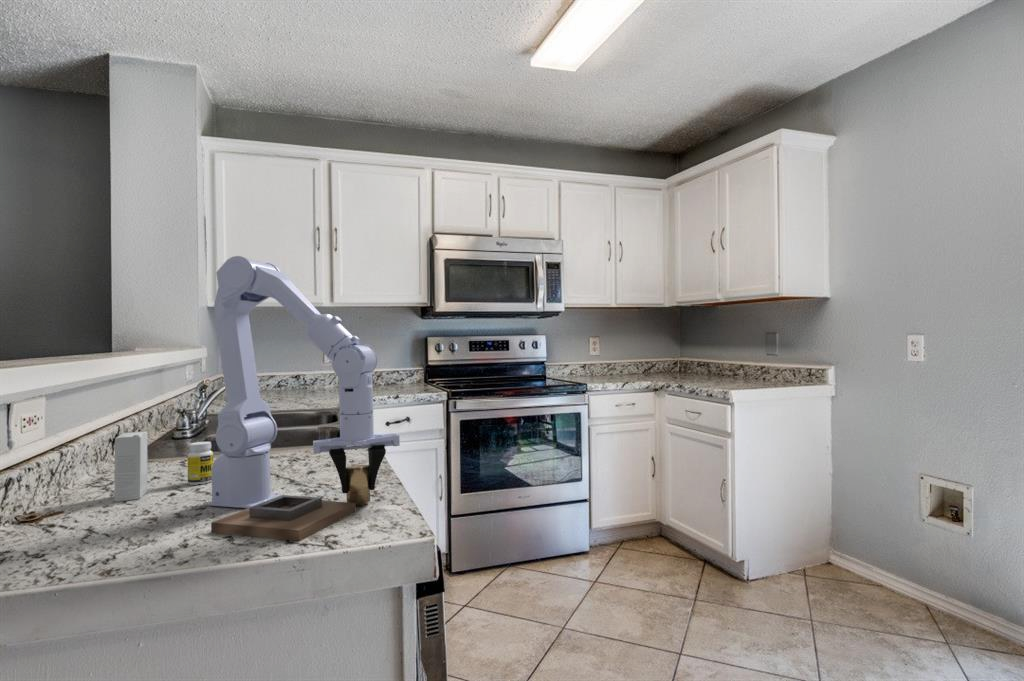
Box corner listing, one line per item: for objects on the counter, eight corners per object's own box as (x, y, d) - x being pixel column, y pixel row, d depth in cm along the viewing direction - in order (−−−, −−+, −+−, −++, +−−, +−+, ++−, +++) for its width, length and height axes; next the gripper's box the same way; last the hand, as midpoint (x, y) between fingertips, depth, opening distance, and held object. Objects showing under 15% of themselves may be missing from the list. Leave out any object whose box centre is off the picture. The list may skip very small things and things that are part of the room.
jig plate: (211, 532, 83) (211, 522, 83) (276, 505, 96) (276, 497, 96) (299, 540, 78) (299, 530, 78) (355, 511, 92) (355, 502, 92)
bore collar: (249, 517, 85) (249, 508, 85) (283, 504, 92) (283, 495, 92) (290, 521, 83) (290, 511, 83) (322, 506, 90) (321, 497, 90)
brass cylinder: (341, 503, 95) (341, 469, 95) (355, 497, 99) (354, 464, 99) (362, 505, 94) (361, 470, 94) (374, 499, 97) (373, 465, 97)
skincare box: (122, 494, 107) (121, 432, 108) (149, 491, 109) (148, 431, 109) (113, 502, 102) (112, 437, 102) (142, 499, 103) (140, 435, 104)
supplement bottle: (201, 485, 113) (201, 445, 113) (182, 485, 114) (181, 444, 114) (218, 480, 118) (218, 441, 118) (199, 479, 118) (199, 440, 119)
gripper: (313, 418, 90) (315, 501, 90) (402, 412, 95) (404, 490, 95) (311, 414, 96) (313, 491, 96) (394, 408, 102) (396, 481, 102)
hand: (358, 490), depth 96 cm, fingers closed on brass cylinder, 4 cm apart
